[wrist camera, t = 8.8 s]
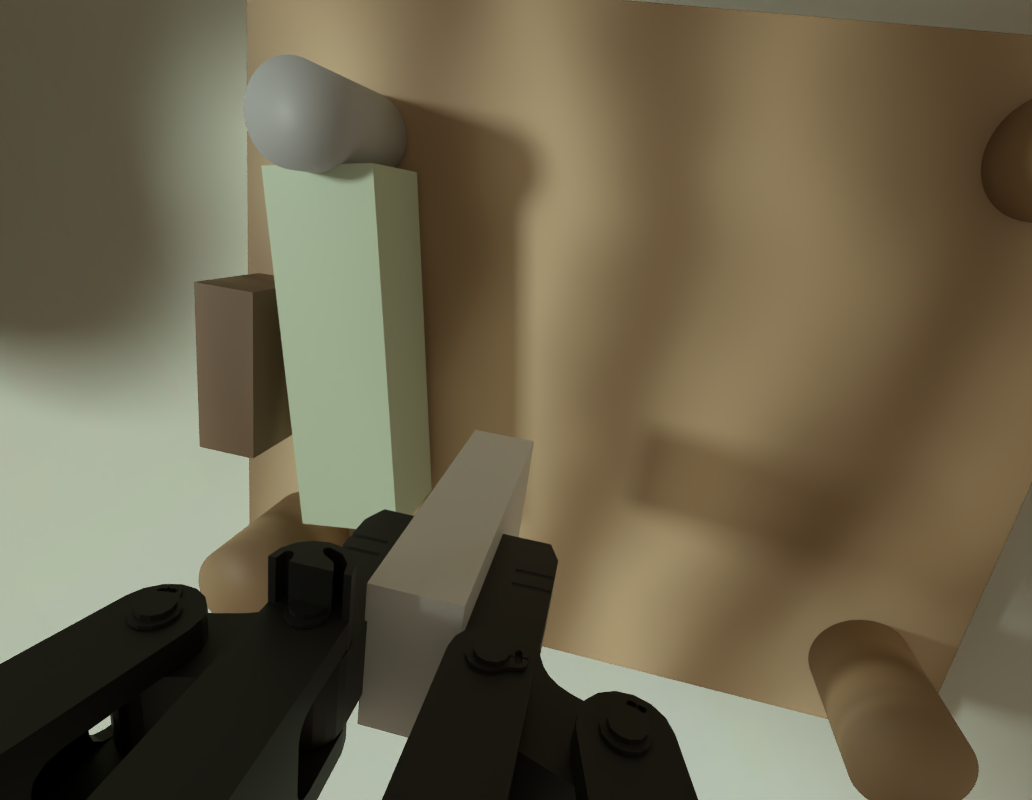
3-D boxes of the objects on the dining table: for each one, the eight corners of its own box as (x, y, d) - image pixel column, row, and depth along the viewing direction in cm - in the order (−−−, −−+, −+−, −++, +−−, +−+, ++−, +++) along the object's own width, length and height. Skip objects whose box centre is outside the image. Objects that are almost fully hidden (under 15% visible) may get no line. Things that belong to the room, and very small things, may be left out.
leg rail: (315, 92, 17) (225, 58, 14) (414, 88, 17) (348, 50, 13) (350, 481, 21) (285, 538, 17) (432, 488, 20) (384, 549, 17)
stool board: (279, 544, 25) (173, 639, 19) (286, -8, 19) (132, -104, 13) (892, 695, 21) (980, 865, 16) (1152, 72, 15) (1450, -14, 10)
